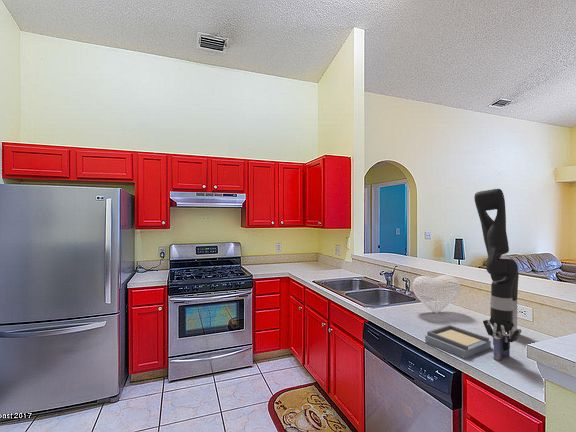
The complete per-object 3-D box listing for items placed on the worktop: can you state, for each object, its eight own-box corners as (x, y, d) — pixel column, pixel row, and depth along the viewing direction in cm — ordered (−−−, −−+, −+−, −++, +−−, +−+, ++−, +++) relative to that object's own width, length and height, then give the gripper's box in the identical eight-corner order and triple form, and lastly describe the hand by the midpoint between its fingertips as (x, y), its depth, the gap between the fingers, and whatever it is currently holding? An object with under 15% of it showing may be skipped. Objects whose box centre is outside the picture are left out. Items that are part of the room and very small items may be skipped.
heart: (421, 318, 168) (422, 279, 168) (407, 309, 183) (407, 273, 183) (466, 315, 172) (466, 277, 172) (448, 307, 187) (448, 272, 187)
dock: (451, 333, 147) (451, 324, 147) (490, 347, 131) (490, 337, 131) (425, 341, 137) (425, 332, 137) (464, 358, 121) (464, 347, 121)
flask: (498, 361, 119) (498, 334, 119) (491, 358, 121) (490, 332, 121) (511, 356, 123) (511, 330, 123) (503, 353, 125) (503, 328, 125)
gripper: (526, 310, 118) (525, 353, 118) (488, 301, 130) (487, 340, 130) (516, 313, 114) (516, 358, 114) (478, 303, 126) (478, 344, 126)
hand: (501, 348), depth 122 cm, fingers closed on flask, 3 cm apart
